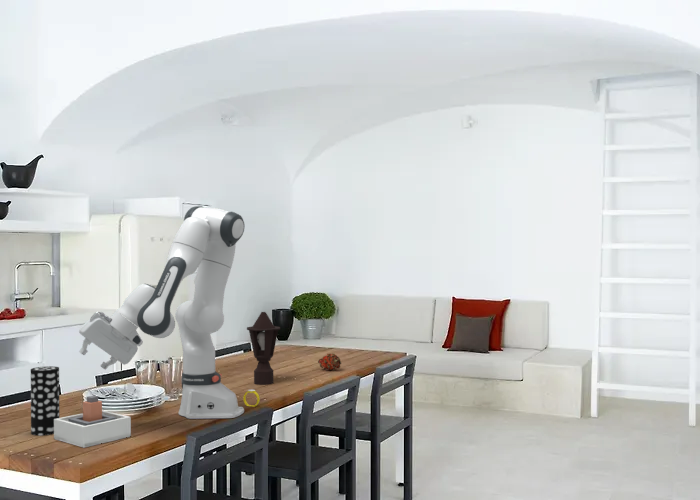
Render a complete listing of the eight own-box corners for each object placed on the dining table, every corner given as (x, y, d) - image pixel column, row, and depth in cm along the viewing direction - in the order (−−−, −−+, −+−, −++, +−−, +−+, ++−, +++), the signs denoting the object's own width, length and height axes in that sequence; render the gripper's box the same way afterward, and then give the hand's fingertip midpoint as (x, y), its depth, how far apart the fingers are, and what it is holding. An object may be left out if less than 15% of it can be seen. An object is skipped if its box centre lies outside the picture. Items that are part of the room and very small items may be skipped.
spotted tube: (63, 428, 242) (62, 366, 242) (54, 435, 234) (53, 370, 233) (37, 429, 242) (36, 366, 241) (26, 435, 233) (26, 370, 233)
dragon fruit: (341, 375, 346) (319, 376, 352) (347, 362, 353) (326, 363, 359) (333, 361, 342) (311, 363, 349) (340, 348, 349) (318, 350, 355)
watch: (260, 406, 275) (261, 390, 275) (256, 408, 272) (257, 392, 272) (245, 404, 277) (246, 388, 277) (241, 406, 274) (242, 389, 274)
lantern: (284, 380, 326) (284, 310, 325) (277, 386, 311) (277, 313, 310) (250, 379, 327) (250, 310, 327) (242, 386, 312) (242, 313, 312)
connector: (94, 432, 234) (94, 394, 233) (102, 434, 231) (101, 396, 231) (83, 434, 230) (82, 396, 230) (90, 436, 228) (90, 398, 228)
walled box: (100, 428, 242) (100, 409, 242) (130, 436, 232) (130, 416, 232) (54, 438, 229) (53, 419, 229) (84, 447, 219) (83, 427, 219)
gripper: (102, 312, 234) (71, 348, 231) (146, 345, 247) (118, 379, 244) (94, 305, 239) (64, 340, 235) (137, 338, 252) (110, 372, 249)
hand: (92, 360), depth 240 cm, fingers open, 8 cm apart
